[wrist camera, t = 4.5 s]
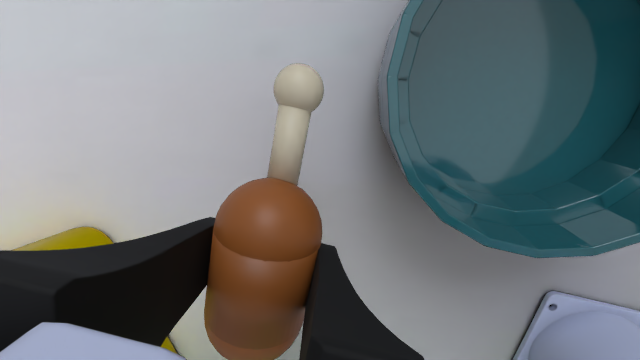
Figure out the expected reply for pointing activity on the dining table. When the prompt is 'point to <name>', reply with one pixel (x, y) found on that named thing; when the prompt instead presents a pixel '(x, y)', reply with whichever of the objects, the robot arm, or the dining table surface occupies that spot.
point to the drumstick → (267, 239)
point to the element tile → (77, 240)
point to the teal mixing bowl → (520, 119)
